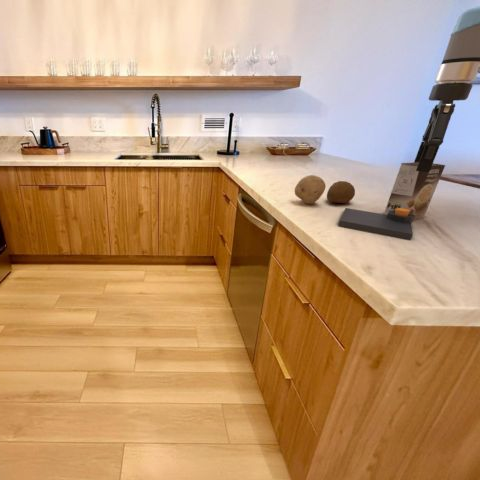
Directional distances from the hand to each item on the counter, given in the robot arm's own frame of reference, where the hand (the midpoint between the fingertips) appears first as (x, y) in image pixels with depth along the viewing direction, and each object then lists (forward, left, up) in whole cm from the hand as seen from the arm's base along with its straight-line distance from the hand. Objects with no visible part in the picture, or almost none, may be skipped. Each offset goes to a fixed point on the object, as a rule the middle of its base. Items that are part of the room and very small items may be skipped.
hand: (420, 167), depth 82 cm
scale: (+7, +14, -15) cm, 22 cm away
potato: (+18, -5, -15) cm, 24 cm away
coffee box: (0, 0, -15) cm, 15 cm away
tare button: (+1, +9, -12) cm, 15 cm away
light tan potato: (+27, +3, -15) cm, 31 cm away
